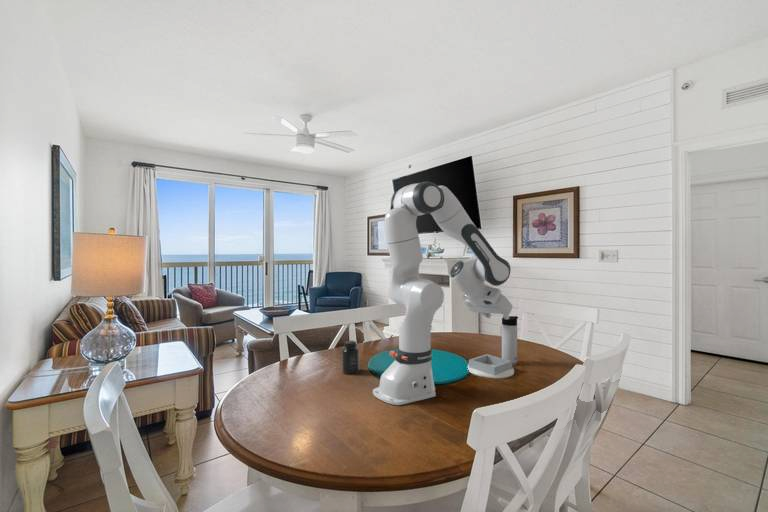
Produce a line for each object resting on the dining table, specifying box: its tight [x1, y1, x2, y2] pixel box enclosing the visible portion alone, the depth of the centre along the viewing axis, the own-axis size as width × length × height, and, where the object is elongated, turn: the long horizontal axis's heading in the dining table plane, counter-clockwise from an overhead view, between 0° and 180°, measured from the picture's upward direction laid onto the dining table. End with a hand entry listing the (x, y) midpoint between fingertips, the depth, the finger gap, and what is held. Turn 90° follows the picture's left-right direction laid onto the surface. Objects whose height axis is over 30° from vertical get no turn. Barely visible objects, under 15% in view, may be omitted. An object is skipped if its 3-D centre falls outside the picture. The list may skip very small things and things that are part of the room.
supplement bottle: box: [341, 340, 360, 375], centre depth 143 cm, size 7×7×12 cm
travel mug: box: [501, 315, 519, 366], centre depth 152 cm, size 6×7×20 cm
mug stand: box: [466, 353, 515, 380], centre depth 143 cm, size 18×18×4 cm
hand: (498, 317), depth 146 cm, fingers open, 8 cm apart
